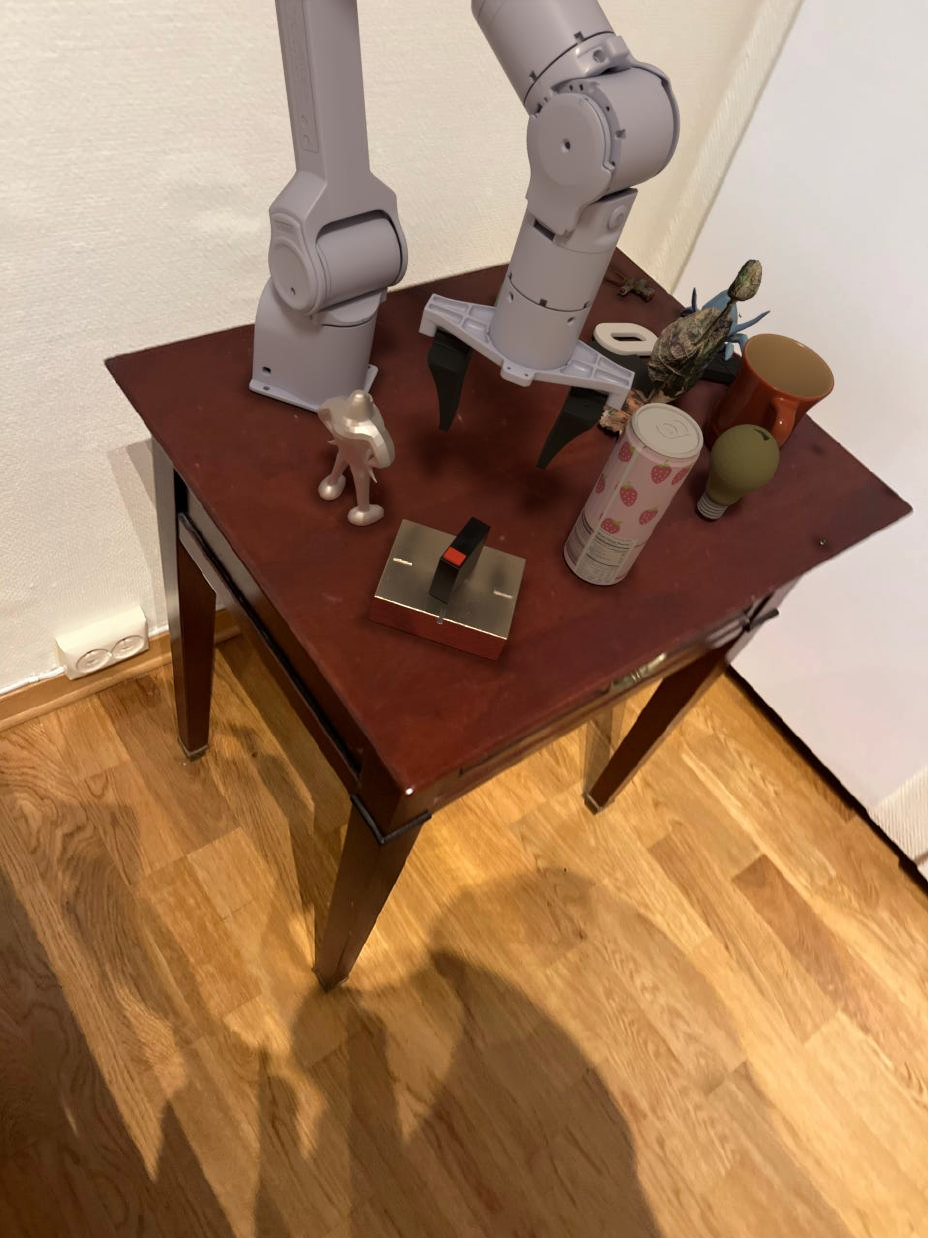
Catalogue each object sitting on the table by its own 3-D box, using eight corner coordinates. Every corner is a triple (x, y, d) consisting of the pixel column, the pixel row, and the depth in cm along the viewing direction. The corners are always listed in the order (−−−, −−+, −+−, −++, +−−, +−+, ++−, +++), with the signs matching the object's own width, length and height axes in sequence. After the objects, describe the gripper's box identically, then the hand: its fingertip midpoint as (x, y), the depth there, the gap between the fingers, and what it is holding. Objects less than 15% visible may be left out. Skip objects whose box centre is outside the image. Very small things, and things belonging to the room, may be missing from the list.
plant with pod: (702, 419, 87) (821, 246, 71) (640, 468, 81) (754, 291, 65) (641, 369, 89) (743, 189, 73) (576, 413, 83) (672, 227, 66)
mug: (695, 406, 88) (743, 321, 80) (775, 432, 89) (831, 351, 81) (690, 486, 81) (743, 402, 73) (778, 514, 82) (840, 434, 74)
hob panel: (365, 626, 64) (371, 601, 61) (398, 537, 69) (405, 511, 67) (495, 668, 64) (506, 645, 62) (517, 576, 70) (528, 552, 67)
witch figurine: (666, 281, 98) (660, 297, 99) (582, 234, 102) (577, 250, 103) (642, 293, 94) (636, 309, 96) (556, 244, 98) (551, 260, 100)
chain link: (612, 351, 88) (587, 322, 90) (609, 356, 88) (584, 327, 91) (669, 350, 92) (644, 322, 94) (666, 355, 92) (641, 327, 95)
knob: (459, 550, 66) (473, 513, 63) (478, 560, 66) (492, 524, 63) (428, 592, 63) (440, 556, 60) (447, 603, 63) (460, 567, 60)
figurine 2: (715, 328, 100) (763, 275, 94) (737, 404, 94) (790, 353, 88) (648, 299, 96) (694, 242, 90) (667, 377, 90) (718, 321, 84)
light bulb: (741, 509, 81) (798, 429, 73) (727, 547, 78) (785, 468, 70) (686, 482, 81) (737, 400, 73) (670, 519, 78) (722, 437, 70)
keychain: (617, 334, 91) (678, 397, 87) (615, 340, 92) (675, 402, 88) (582, 343, 89) (642, 408, 85) (579, 349, 89) (640, 413, 85)
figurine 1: (393, 520, 70) (421, 407, 61) (356, 545, 68) (379, 431, 58) (331, 468, 72) (349, 350, 63) (293, 490, 70) (306, 372, 60)
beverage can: (638, 562, 74) (720, 432, 62) (605, 599, 71) (684, 469, 59) (584, 523, 75) (654, 388, 63) (549, 558, 72) (616, 423, 60)
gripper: (422, 271, 52) (386, 439, 62) (650, 361, 52) (574, 512, 63) (456, 216, 56) (416, 382, 67) (666, 299, 56) (593, 451, 67)
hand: (494, 441), depth 65 cm, fingers open, 7 cm apart
